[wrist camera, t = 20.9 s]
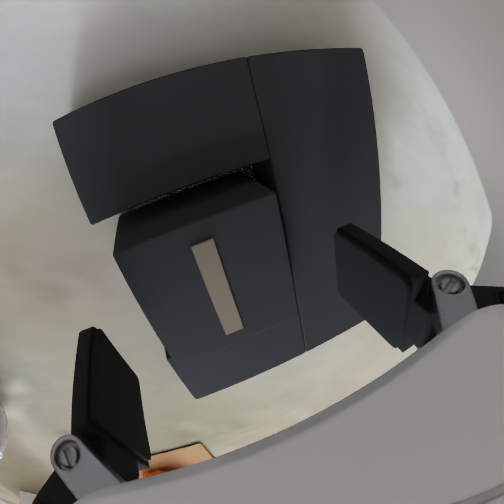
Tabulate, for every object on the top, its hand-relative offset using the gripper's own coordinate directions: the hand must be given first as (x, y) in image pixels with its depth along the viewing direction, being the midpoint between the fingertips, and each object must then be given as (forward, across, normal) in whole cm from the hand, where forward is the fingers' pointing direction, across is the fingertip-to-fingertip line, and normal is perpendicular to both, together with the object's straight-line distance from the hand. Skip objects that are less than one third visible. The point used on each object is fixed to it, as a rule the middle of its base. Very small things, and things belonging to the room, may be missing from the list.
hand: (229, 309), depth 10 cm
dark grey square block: (+5, 0, 0) cm, 5 cm away
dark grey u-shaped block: (+5, -3, 0) cm, 6 cm away
